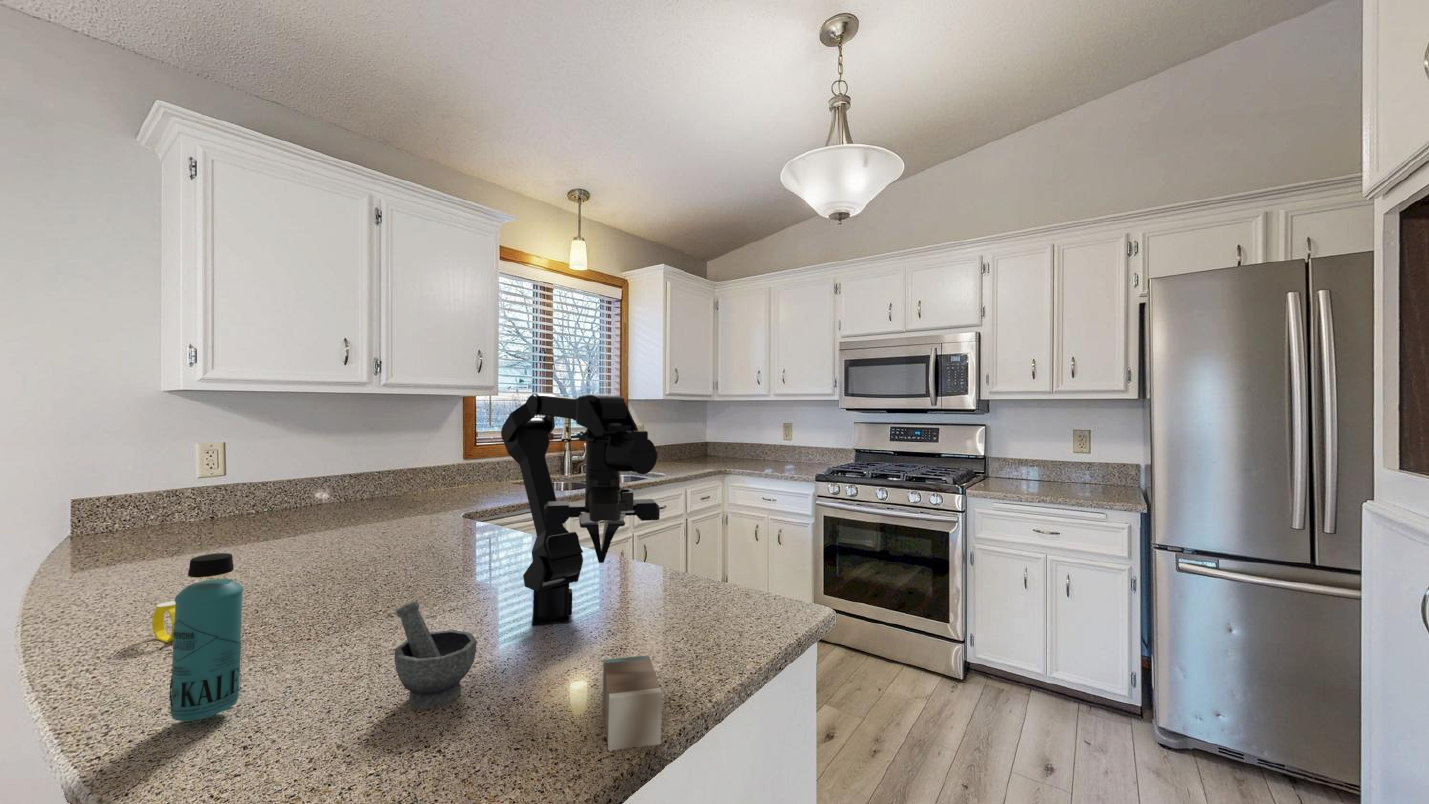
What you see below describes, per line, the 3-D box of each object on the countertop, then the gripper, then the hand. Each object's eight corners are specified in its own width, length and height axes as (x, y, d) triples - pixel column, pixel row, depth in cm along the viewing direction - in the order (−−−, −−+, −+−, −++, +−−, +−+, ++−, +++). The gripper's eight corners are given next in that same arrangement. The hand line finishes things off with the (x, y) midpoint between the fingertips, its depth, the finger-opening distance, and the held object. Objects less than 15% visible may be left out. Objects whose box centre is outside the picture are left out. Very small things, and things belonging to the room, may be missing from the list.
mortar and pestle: (489, 685, 77) (492, 599, 77) (438, 721, 68) (441, 623, 68) (424, 673, 80) (426, 590, 81) (367, 705, 71) (370, 612, 72)
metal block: (602, 705, 72) (608, 751, 63) (603, 659, 72) (609, 698, 63) (648, 700, 74) (660, 744, 64) (649, 655, 74) (662, 692, 64)
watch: (146, 642, 90) (145, 604, 90) (168, 635, 92) (167, 599, 93) (167, 645, 88) (167, 607, 88) (189, 639, 90) (188, 602, 91)
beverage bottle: (198, 706, 71) (204, 548, 71) (254, 704, 71) (259, 548, 71) (151, 736, 64) (157, 562, 64) (212, 734, 65) (218, 562, 65)
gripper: (543, 475, 83) (541, 580, 83) (666, 474, 88) (664, 572, 88) (545, 468, 94) (543, 560, 94) (654, 467, 99) (653, 554, 99)
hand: (601, 562), depth 93 cm, fingers closed
